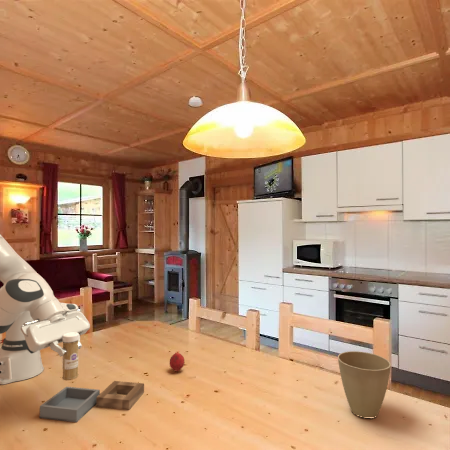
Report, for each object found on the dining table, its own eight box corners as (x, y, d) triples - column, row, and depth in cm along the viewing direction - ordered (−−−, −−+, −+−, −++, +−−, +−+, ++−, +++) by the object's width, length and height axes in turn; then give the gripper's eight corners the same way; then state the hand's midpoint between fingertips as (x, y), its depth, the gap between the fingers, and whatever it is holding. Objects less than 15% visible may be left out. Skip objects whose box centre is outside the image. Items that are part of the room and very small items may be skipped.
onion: (181, 375, 123) (181, 354, 123) (167, 374, 124) (167, 353, 124) (186, 369, 129) (186, 348, 129) (172, 367, 130) (172, 347, 130)
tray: (39, 418, 95) (39, 406, 95) (66, 397, 107) (66, 386, 107) (76, 422, 93) (76, 410, 93) (99, 400, 105) (99, 389, 105)
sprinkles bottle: (69, 382, 97) (70, 337, 97) (58, 379, 99) (59, 335, 99) (81, 375, 101) (82, 332, 101) (71, 373, 103) (71, 330, 103)
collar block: (96, 406, 101) (96, 397, 101) (114, 389, 112) (114, 380, 112) (129, 410, 99) (129, 400, 100) (144, 392, 110) (144, 383, 110)
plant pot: (399, 413, 98) (398, 360, 98) (377, 433, 88) (377, 375, 89) (352, 394, 109) (352, 347, 110) (328, 410, 100) (328, 358, 100)
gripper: (23, 317, 93) (46, 357, 89) (80, 303, 112) (101, 335, 108) (13, 331, 95) (35, 370, 91) (70, 314, 114) (91, 346, 110)
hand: (71, 351), depth 100 cm, fingers closed on sprinkles bottle, 4 cm apart
